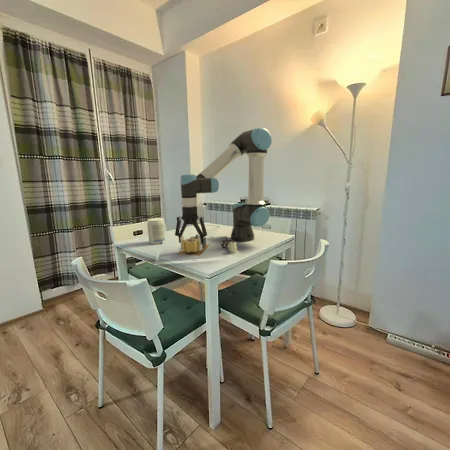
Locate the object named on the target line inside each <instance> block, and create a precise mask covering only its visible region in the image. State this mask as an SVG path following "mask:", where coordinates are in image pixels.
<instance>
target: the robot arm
mask: <svg viewBox="0 0 450 450" xmlns="http://www.w3.org/2000/svg"><path fill="white" fill-rule="evenodd" d="M272 140H273V139H272V135H271V133H270V132H269V130H268V129H266V128H265V127H256V128H253V129H250V130H246V131H243V132H242V133H240V134H238V136H236V138H235V139H233V140H232V142H230V143H229V144H228V147H227V148H226V149H225V150H224V151H223V152H222V153H220V154H219V155H218V156H217V157H216V158H215V159H214V160H213V161H211V163H209V165H207V166H206V167H204V169H203V170H202V171H201V172H199V173H198V174H197V175H196V174H182V175H180V193H181V213H182V216H177V217H176V225H175V232H174V236H177V237H178V242H179V244H180V251H182V250H183V244H182V240H185V236H184V235H183V234H184V232H185V230H186V229H187V226H188V225H192V226H193V227H194V228H195V230H196V232H197V234H198V235H199V236H200V237H199V250H202V244H203V243H204V237H206V236H208V232H207V229H206V228H207V227H206V225H205V221H204V220H205V217H204V216H199V215H198V194H214V193H217V192H218V191H219V188H220V183H219V180H218V179H217V178H216V177H218V175H219V174H221V173H222V172H224V170H225V169H226V168H227V167H229V165H231V164H232V163H233V162H234V161H235V160H236V159H237V158H241V157H242V156H243V155H246V157H248V182H247V183H248V185H247V186H248V189H247V190H248V193H247V195H248V196H247V199H248V200H247V201H246V202H237V203H233V204H232V223H233V224H232V225H233V227H232V230H231V234H230V240H231V241H234V242H250V241H253V240H255V232H254V230H253V228H252V227H256V228H261V227H264V226H265V225H266V224H267V223H268V221H269V220H270V216H271V215H270V211H269V209H268V208H267V207H266V205H267V203H266V202H265V201H264V189H265V188H264V187H265V186H264V185H265V184H264V182H265V180H264V177H265V157H266V156H267V155H268V150H269V148H270V147H271V145H272V143H273V142H272ZM182 221H183V223H182ZM198 221H199V224H200V226H199V224H198ZM181 224H182V226H181Z"/></svg>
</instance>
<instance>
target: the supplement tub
mask: <svg viewBox="0 0 450 450" xmlns="http://www.w3.org/2000/svg"><path fill="white" fill-rule="evenodd" d="M146 221H147V224H146V225H147V232H148V233H147V234H148V242H149V244H151V245H159V244H163V243H164V241H166V237H165V235H166V233H165V223H164V218H162V217H154V218H153V217H152V218H148V219H147V220H146Z"/></svg>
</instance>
